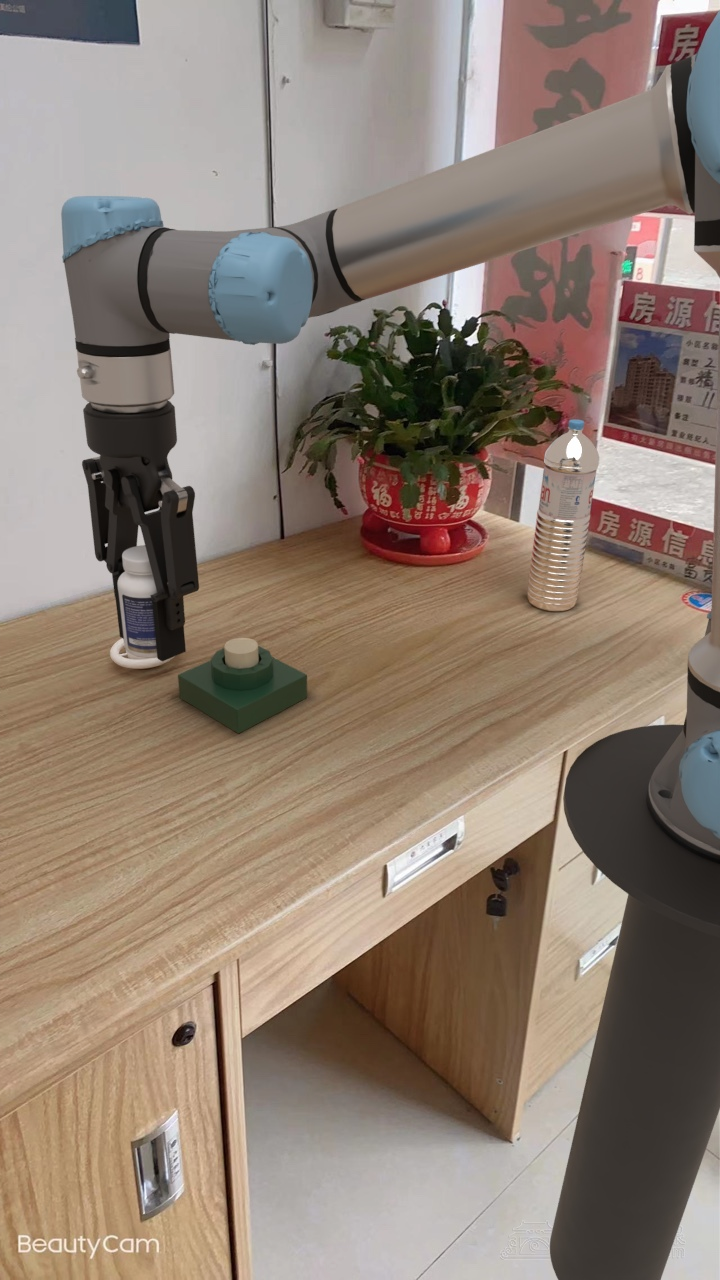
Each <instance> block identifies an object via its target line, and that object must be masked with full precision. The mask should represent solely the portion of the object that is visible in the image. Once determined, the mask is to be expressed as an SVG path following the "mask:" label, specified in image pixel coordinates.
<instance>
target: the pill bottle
mask: <svg viewBox="0 0 720 1280" xmlns="http://www.w3.org/2000/svg"><path fill="white" fill-rule="evenodd" d="M122 560H123V568H124V570H125V572H123V573H122V574H121V575H120V577H119V579H118V582H117V585H118V595H119V603H120V612H121V621H122V630H123V638H124V645H125V647H124V648H125V651H126V650H127V651H128V652H129V653H130V654H132V655H134V656H137V657H141V658H157V648H156V637H155V627H154V617H153V606H152V598H151V596H150V595H153V594H156V593H157V590H156V586H155V582H154V578H153V574H152V570H151V566H150V562H149V558H148V554H147V550H146V547H145V544H143V545H137V546H135V547H132V548H129V549H127V550H125V551H124V552H123V554H122ZM167 584H168V583H167Z"/></svg>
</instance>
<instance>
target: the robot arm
mask: <svg viewBox="0 0 720 1280" xmlns="http://www.w3.org/2000/svg"><path fill="white" fill-rule="evenodd" d="M668 206H674V207H677V208H678V209H680V210H681V211H682V212H684V213H686V214H687V215H692V214H694V229H693V230H694V232H693V233H694V236H693V237H694V238H693V239H694V241H693V243H694V244H693V251H694V252H695V253H696V254H697V255H698V256H699V257H700V258H701V259H702V260H703V261H704V262H705V263H706V264H707V265H708V266H709V267H710V268H711V269H713V270H714V271H715V273H716V274H717V276H718V278H719V279H720V9H719V10H718V12H717V13H716V15H715V16H714V18H713V20H712V21H711V23H710V25H709V26H708V28H707V30H706V31H705V34H704V37H703V39H702V40H701V44H700V46H699V48H698V50H697V52H696V53H695V54H693V55H690V56H689V57H685V58H683V59H681V60H678V61H675V62H673V63H671V64H667V65H666V66H665V68H664V70H663V72H662V74H661V75H660V77H659V78H658V80H657V82H656V84H655V85H654V86H652V88H651V89H648V90H646V91H643V92H640V93H638V94H636V95H632V96H630V97H628V98H625V99H622V100H620V101H616V102H614V103H611V104H608V105H606V106H603V107H600V108H598V109H595V110H592V111H590V112H588V113H584V114H583V115H579V116H577V117H575V118H572V119H569V120H566V121H563V122H561V123H559V124H556V125H553V126H550V127H548V128H545V129H542V130H540V131H538V132H534V133H532V134H529V135H527V136H524V137H521V138H519V139H516V140H514V141H511V142H509V143H506V144H503V145H500V146H498V147H495V148H492V149H490V150H487V151H485V152H482V153H479V154H476V155H474V156H472V157H468V158H466V159H463V160H461V161H458V162H456V163H452V164H450V165H447V166H445V167H443V168H439V169H437V170H434V171H431V172H428V173H426V174H424V175H421V176H418V177H415V178H413V179H411V180H408V181H405V182H403V183H399V184H397V185H395V186H394V185H393V186H391V187H389V188H386V189H384V190H381V191H378V192H376V193H374V194H371V195H368V196H365V197H363V198H360V199H357V200H355V201H352V202H350V203H347V204H344V205H342V206H339V207H337V208H335V209H331V210H328V211H325V212H322V213H319V214H317V215H314V216H312V217H308V218H306V219H303V220H301V221H298V222H294V223H290V224H286V225H282V226H281V225H280V226H270V227H260V228H248V229H238V230H227V231H225V230H223V231H218V230H217V231H215V230H188V229H187V230H185V229H184V230H183V229H181V230H180V229H175V228H169V227H165V226H164V221H163V220H162V214H161V213H162V212H161V209H160V206H159V204H158V203H157V201H155V200H154V199H153V198H149V197H140V196H125V195H124V196H123V195H121V196H119V195H79V196H73V197H70V198H68V199H67V200H66V201H65V202H64V203H63V205H62V207H61V212H60V216H61V235H62V249H63V250H62V251H63V254H62V256H61V257H62V263H63V265H64V271H65V276H66V282H67V289H68V297H69V302H70V307H71V315H72V322H73V329H74V330H73V331H74V335H75V337H74V342H75V350H76V357H77V364H78V368H76V369H77V370H76V373H77V377H78V378H79V382H80V390H81V397H82V399H84V400H85V401H86V402H87V403H86V405H85V406H84V407H83V410H82V412H83V420H84V430H85V437H86V444H87V446H88V448H89V450H90V451H92V452H93V453H95V454H97V455H98V456H94V457H91V458H87V459H83V460H82V462H81V466H82V467H81V468H82V470H83V473H84V477H85V479H86V480H85V481H86V484H87V492H88V500H89V501H88V502H89V508H90V509H89V510H90V511H89V512H90V519H91V528H92V529H91V530H92V538H93V539H92V540H93V548H94V549H93V550H94V555H95V558H96V560H97V561H98V562H105V564H106V569H107V571H108V572H109V573H110V574H111V577H112V578H111V579H112V585H113V593H114V594H113V595H114V598H115V605H116V614H117V624H118V632H119V637H120V639H122V638H123V630H122V621H121V612H120V603H119V595H118V585H117V582H118V579H119V577H120V575H121V574H122V573H123V572H125V570H124V568H123V560H122V554H123V552H124V551H125V550H127V549H129V548H132V547H135V546H138V536H139V527H140V531H141V535H142V538H143V542H144V545H145V547H146V550H147V554H148V558H149V562H150V566H151V570H152V574H153V578H154V582H155V586H156V590H157V593H156V594H153V595H150V596H151V598H152V606H153V617H154V627H155V637H156V648H157V658H158V659H159V660H161V661H165V660H167V659H170V658H172V657H174V656H175V657H177V656H179V655H180V654H183V653H186V651H187V650H186V649H187V648H186V637H185V623H186V615H185V602H184V601H185V600H184V597H185V596H188V595H190V594H193V593H196V592H199V589H200V583H199V582H200V581H199V570H198V560H197V559H198V558H197V549H196V537H195V528H194V516H193V511H194V505H195V500H196V493H195V489H194V488H193V487H192V486H191V485H186V486H183V487H181V486H180V485H179V484H178V483H177V482H176V481H174V480H173V473H172V470H171V466H170V463H169V460H168V456H169V454H170V452H171V451H172V449H174V448H175V446H176V445H177V442H178V435H177V421H176V408H175V407H176V406H175V405H174V404H173V403H172V402H171V401H170V400H171V399H172V397H173V396H174V395H175V386H174V385H175V384H174V372H173V361H172V351H171V350H172V349H171V341H170V340H171V339H170V337H171V336H170V334H171V335H174V334H178V335H185V336H194V337H200V338H201V337H202V338H208V339H209V338H210V339H217V340H225V341H234V342H239V343H240V342H241V343H242V344H244V345H250V346H251V345H252V346H255V345H258V344H274V345H275V344H279V345H283V344H287V343H290V342H292V341H293V340H295V339H296V338H297V337H299V335H300V332H301V329H302V328H303V327H305V326H306V325H307V322H308V320H309V318H314V317H321V316H324V315H327V314H331V313H334V312H337V311H338V310H340V309H342V308H345V307H348V306H351V305H354V304H358V303H361V302H362V301H365V300H369V299H372V298H375V297H379V296H382V295H385V294H388V293H391V292H394V291H397V290H401V289H404V288H408V287H411V286H413V285H416V284H417V285H418V284H420V283H423V282H427V281H430V280H432V279H436V278H439V277H443V276H446V275H449V274H453V273H456V272H459V271H462V270H466V269H468V268H471V267H475V266H478V265H481V264H484V263H488V262H491V261H494V260H497V259H500V258H504V257H507V256H509V255H510V256H511V255H513V254H517V253H519V252H523V251H525V250H526V251H527V250H529V249H533V248H536V247H539V246H542V245H545V244H549V243H552V242H554V241H558V240H561V239H565V238H569V237H571V236H575V235H578V234H581V233H583V232H587V231H590V230H593V229H596V228H600V227H603V226H607V225H609V224H613V223H615V222H619V221H623V220H626V219H629V218H632V217H635V216H638V215H641V214H646V213H648V212H651V211H655V210H657V209H661V208H664V207H668ZM718 311H719V312H718V313H719V314H718V315H719V316H718V349H717V350H718V351H717V355H718V356H717V385H716V386H717V387H716V423H715V424H716V427H715V428H716V429H715V431H716V432H715V458H714V459H715V461H714V463H715V464H714V497H713V498H714V499H713V500H714V501H713V535H712V537H713V538H712V539H713V541H712V573H711V574H712V577H711V608H710V611H709V612H708V613H707V614H706V619H708V620H707V625H706V629H705V633H704V636H703V637H702V638H700V639H699V640H697V642H695V643H694V645H692V647H691V648H690V649H689V652H688V654H687V655H688V656H687V675H686V676H687V677H686V679H687V682H686V685H687V686H686V712H685V718H684V721H683V725H684V726H683V729H682V732H681V733H680V734H679V736H678V737H677V739H676V740H675V742H674V743H673V744H672V746H671V747H670V749H669V750H668V751H667V753H666V754H665V756H664V757H663V758H662V760H661V761H660V763H659V764H658V765H657V767H656V768H655V770H654V772H653V774H652V776H651V778H650V782H649V787H648V791H647V798H646V801H647V806H648V810H649V812H650V815H651V816H652V818H653V820H654V821H655V823H656V824H657V825H658V826H659V828H660V829H661V830H662V831H663V832H664V833H665V834H666V835H667V836H669V837H670V838H671V839H672V840H674V841H675V842H676V843H678V844H679V845H681V846H682V847H684V848H686V849H687V850H689V851H691V852H693V853H695V854H697V855H699V856H701V857H703V858H706V859H708V860H711V861H713V862H716V863H719V864H720V308H719V310H718ZM154 510H155V511H154ZM151 511H152V512H151ZM106 544H107V545H106ZM167 583H168V584H167ZM123 639H124V638H123ZM175 657H174V658H175Z"/></svg>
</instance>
